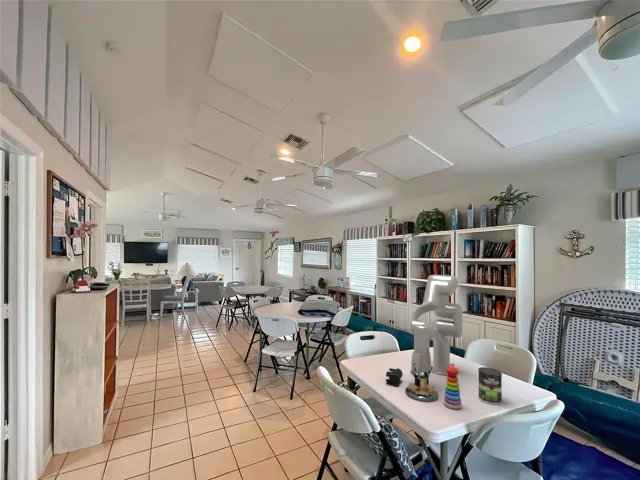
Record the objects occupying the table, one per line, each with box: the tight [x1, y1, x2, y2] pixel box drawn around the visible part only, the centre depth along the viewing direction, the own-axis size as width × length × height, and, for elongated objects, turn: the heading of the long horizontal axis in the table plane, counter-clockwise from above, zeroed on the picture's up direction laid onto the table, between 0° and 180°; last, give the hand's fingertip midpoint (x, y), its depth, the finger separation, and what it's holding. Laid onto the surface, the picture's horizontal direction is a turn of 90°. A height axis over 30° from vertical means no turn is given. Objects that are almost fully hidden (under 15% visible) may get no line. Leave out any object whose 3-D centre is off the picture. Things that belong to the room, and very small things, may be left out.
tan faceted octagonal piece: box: [408, 374, 436, 396], centre depth 153 cm, size 12×12×6 cm
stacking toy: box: [443, 365, 463, 410], centre depth 142 cm, size 8×8×19 cm
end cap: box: [385, 367, 404, 387], centre depth 166 cm, size 10×7×7 cm
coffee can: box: [477, 366, 503, 406], centre depth 149 cm, size 10×10×14 cm
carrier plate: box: [404, 385, 439, 403], centre depth 153 cm, size 16×16×4 cm
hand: (421, 384), depth 153 cm, fingers open, 5 cm apart
